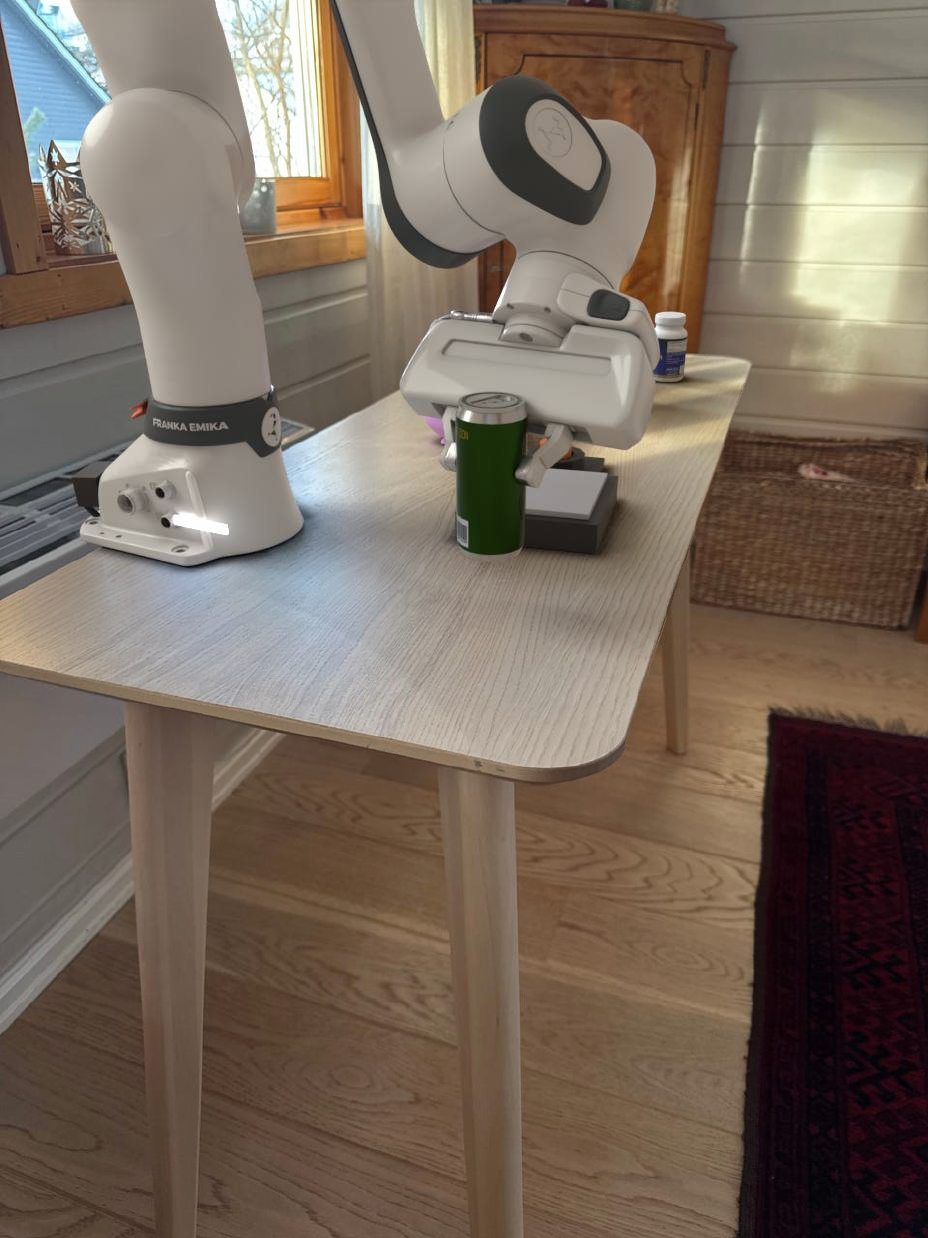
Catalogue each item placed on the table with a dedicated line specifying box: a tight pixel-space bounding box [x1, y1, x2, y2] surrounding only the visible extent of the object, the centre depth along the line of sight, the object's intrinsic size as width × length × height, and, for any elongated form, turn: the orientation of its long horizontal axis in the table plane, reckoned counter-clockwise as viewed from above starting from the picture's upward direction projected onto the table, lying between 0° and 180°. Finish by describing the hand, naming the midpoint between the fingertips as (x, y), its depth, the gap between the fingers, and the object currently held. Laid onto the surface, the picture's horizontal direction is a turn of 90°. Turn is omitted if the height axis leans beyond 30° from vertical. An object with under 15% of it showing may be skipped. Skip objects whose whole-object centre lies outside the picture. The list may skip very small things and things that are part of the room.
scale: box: [454, 468, 619, 555], centre depth 92 cm, size 14×14×4 cm
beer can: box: [455, 391, 529, 563], centre depth 69 cm, size 5×5×12 cm
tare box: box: [527, 445, 606, 473], centre depth 104 cm, size 10×10×3 cm
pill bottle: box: [652, 311, 688, 383], centre depth 142 cm, size 6×6×10 cm
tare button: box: [539, 437, 573, 459], centre depth 103 cm, size 4×4×2 cm
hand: (487, 475), depth 68 cm, fingers closed on beer can, 5 cm apart
